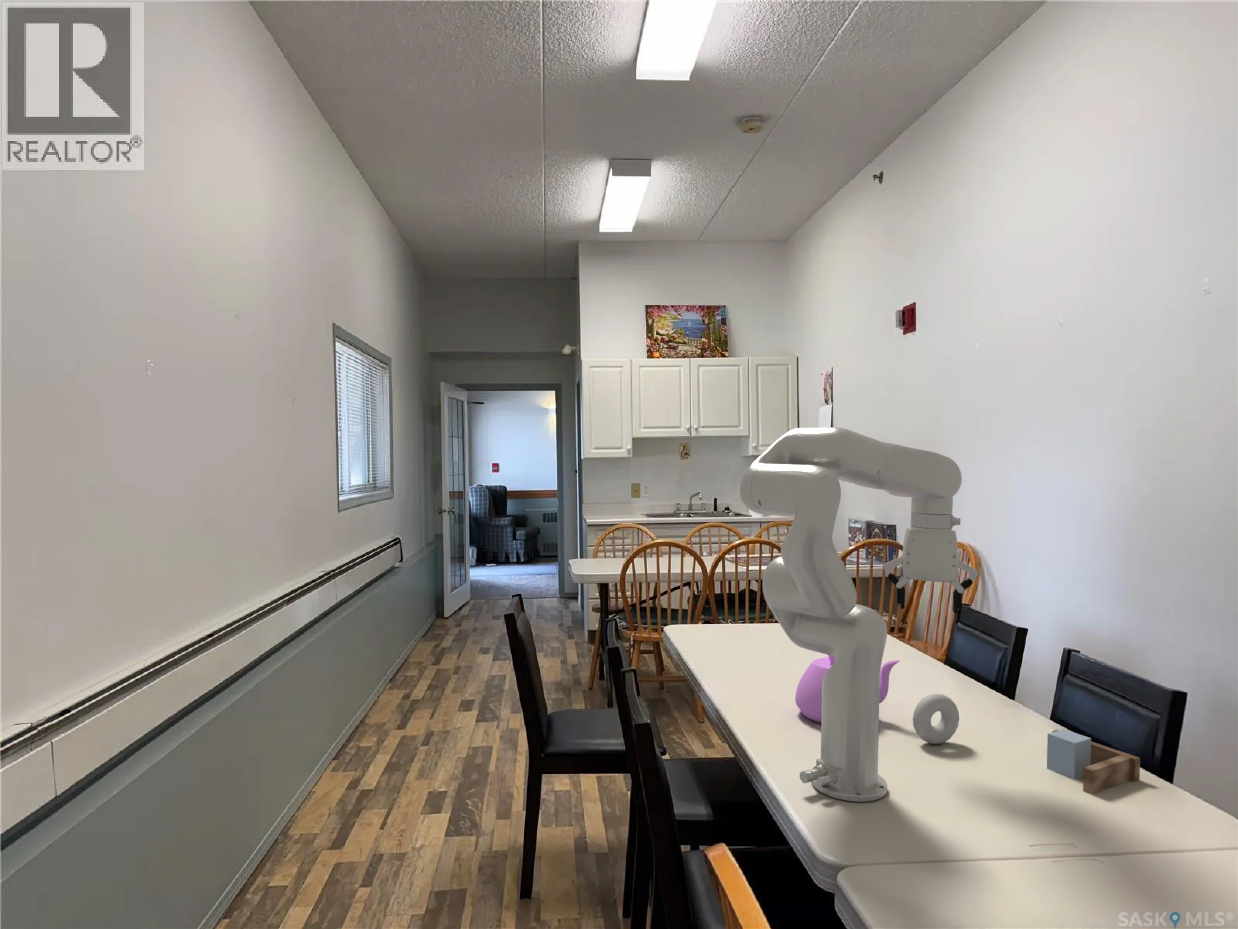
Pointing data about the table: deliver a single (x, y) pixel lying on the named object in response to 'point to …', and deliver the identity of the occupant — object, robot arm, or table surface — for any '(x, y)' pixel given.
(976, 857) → the table surface
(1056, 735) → the block
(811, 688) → the teapot
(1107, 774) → the corner stop
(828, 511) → the robot arm
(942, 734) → the donut
